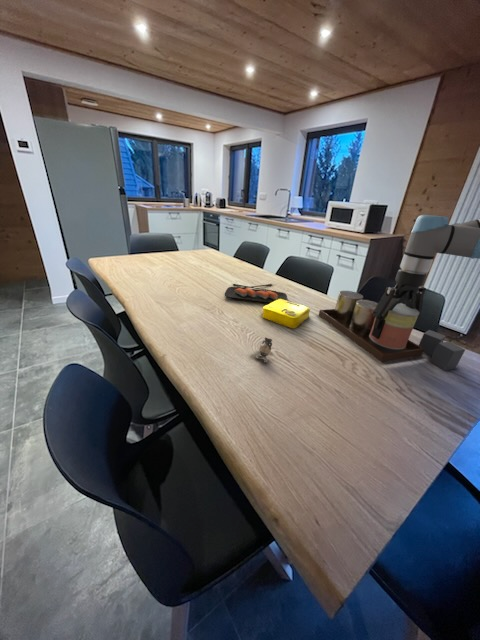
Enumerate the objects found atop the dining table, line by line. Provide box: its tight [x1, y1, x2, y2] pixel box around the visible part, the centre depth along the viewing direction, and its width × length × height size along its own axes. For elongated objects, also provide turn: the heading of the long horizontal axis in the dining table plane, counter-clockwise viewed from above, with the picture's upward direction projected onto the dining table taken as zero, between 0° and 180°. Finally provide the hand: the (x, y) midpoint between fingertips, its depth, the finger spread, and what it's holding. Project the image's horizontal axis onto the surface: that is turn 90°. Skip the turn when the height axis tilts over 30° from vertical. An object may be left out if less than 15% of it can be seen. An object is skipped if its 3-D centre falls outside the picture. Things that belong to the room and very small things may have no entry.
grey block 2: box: [429, 341, 466, 371], centre depth 82 cm, size 5×5×7 cm
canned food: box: [369, 302, 420, 349], centre depth 86 cm, size 11×11×12 cm
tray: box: [318, 308, 424, 363], centre depth 98 cm, size 34×17×3 cm, turn 18°
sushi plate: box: [224, 283, 288, 304], centre depth 131 cm, size 29×30×4 cm
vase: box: [252, 337, 273, 363], centre depth 79 cm, size 5×5×6 cm
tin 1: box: [333, 290, 364, 325], centre depth 106 cm, size 9×9×11 cm
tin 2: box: [349, 299, 379, 337], centre depth 97 cm, size 9×9×11 cm
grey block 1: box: [418, 329, 447, 356], centre depth 89 cm, size 5×5×7 cm
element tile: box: [261, 299, 311, 329], centre depth 107 cm, size 15×15×5 cm
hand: (389, 335), depth 88 cm, fingers closed on canned food, 11 cm apart
